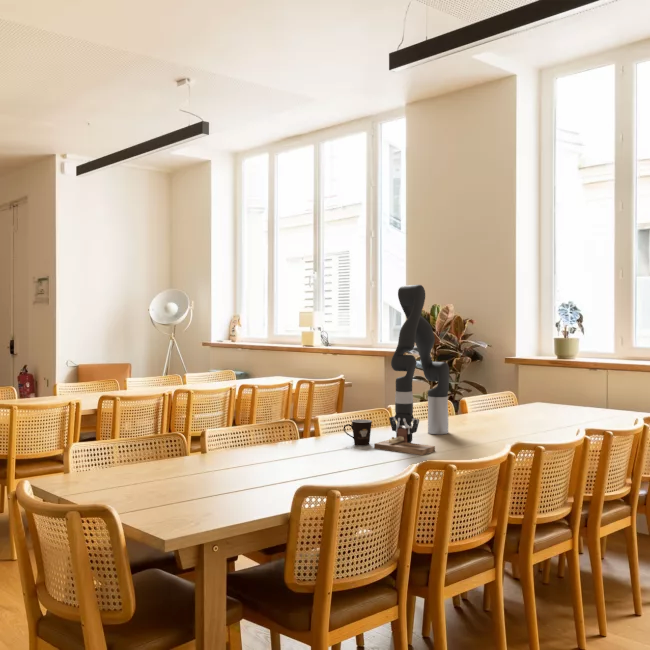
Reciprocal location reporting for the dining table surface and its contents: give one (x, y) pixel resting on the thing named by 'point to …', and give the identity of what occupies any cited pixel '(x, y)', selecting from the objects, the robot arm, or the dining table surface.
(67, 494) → the dining table surface
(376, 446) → the plank
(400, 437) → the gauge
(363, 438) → the coffee mug
